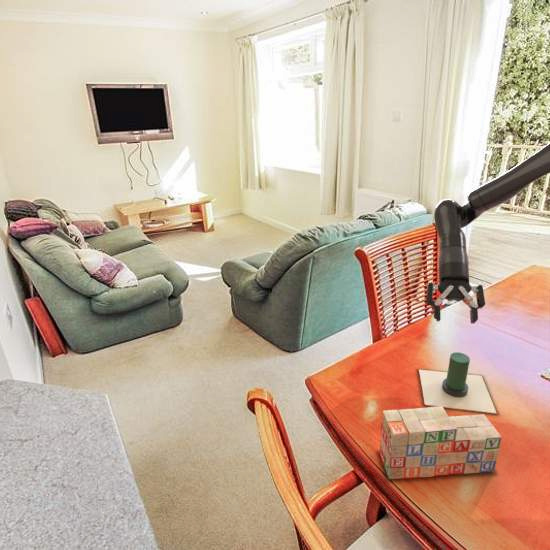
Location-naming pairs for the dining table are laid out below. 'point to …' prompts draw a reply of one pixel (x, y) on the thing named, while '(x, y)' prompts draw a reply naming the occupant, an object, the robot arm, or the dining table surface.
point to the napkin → (472, 401)
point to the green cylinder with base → (457, 375)
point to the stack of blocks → (436, 443)
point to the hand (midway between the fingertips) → (455, 321)
